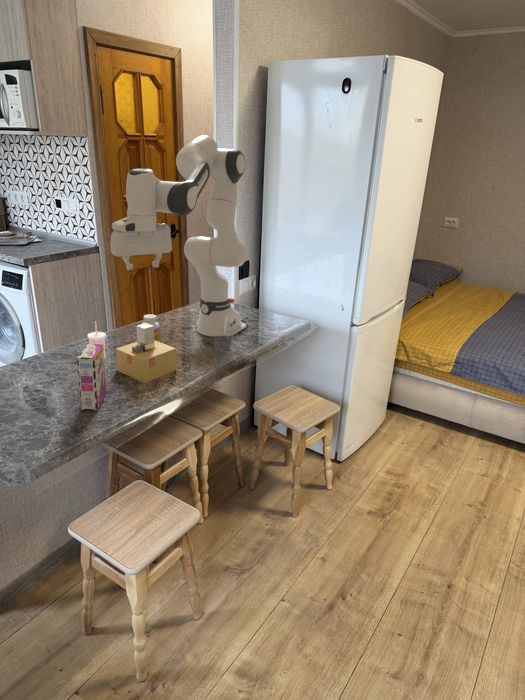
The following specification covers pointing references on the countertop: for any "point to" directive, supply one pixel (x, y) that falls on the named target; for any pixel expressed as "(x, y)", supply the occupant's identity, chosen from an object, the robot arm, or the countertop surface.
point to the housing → (146, 361)
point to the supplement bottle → (152, 321)
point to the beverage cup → (97, 338)
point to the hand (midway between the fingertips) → (143, 268)
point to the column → (145, 337)
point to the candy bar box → (91, 376)
